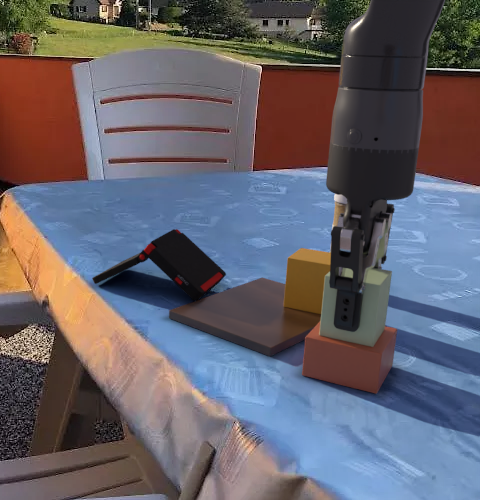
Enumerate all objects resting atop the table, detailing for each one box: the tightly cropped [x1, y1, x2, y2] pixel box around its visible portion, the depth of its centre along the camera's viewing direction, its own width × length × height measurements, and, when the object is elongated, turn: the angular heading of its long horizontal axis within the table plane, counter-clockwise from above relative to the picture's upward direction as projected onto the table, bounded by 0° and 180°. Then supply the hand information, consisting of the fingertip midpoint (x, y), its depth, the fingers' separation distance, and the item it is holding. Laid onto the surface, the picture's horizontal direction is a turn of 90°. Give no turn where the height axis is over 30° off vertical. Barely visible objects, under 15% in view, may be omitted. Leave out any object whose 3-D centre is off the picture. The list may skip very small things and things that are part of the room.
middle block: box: [319, 268, 393, 347], centre depth 67 cm, size 5×5×6 cm
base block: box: [301, 321, 398, 395], centre depth 68 cm, size 7×7×4 cm
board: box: [168, 277, 321, 357], centre depth 82 cm, size 18×14×1 cm
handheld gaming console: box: [91, 228, 227, 301], centre depth 92 cm, size 9×12×10 cm
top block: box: [284, 247, 331, 314], centre depth 83 cm, size 5×5×6 cm
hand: (353, 318), depth 67 cm, fingers closed on middle block, 5 cm apart
